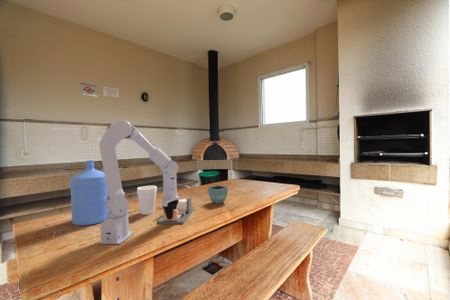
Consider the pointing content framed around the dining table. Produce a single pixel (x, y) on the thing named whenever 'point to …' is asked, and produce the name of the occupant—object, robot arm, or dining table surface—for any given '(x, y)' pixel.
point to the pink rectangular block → (175, 215)
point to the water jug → (88, 196)
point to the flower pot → (217, 194)
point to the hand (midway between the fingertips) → (170, 217)
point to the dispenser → (182, 207)
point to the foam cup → (147, 199)
